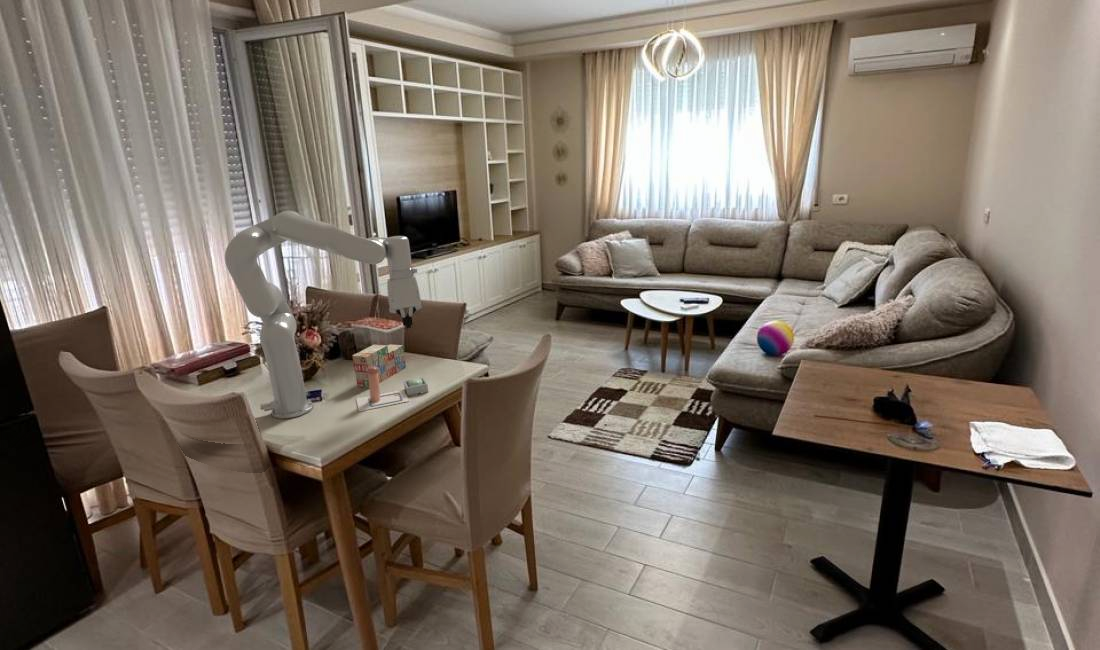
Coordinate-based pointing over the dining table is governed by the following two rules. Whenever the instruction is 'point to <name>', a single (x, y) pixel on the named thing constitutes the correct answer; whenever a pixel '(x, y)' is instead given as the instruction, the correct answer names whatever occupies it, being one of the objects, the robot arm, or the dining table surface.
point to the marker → (373, 384)
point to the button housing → (416, 387)
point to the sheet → (382, 400)
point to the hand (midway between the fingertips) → (408, 327)
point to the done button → (415, 382)
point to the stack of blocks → (378, 362)
